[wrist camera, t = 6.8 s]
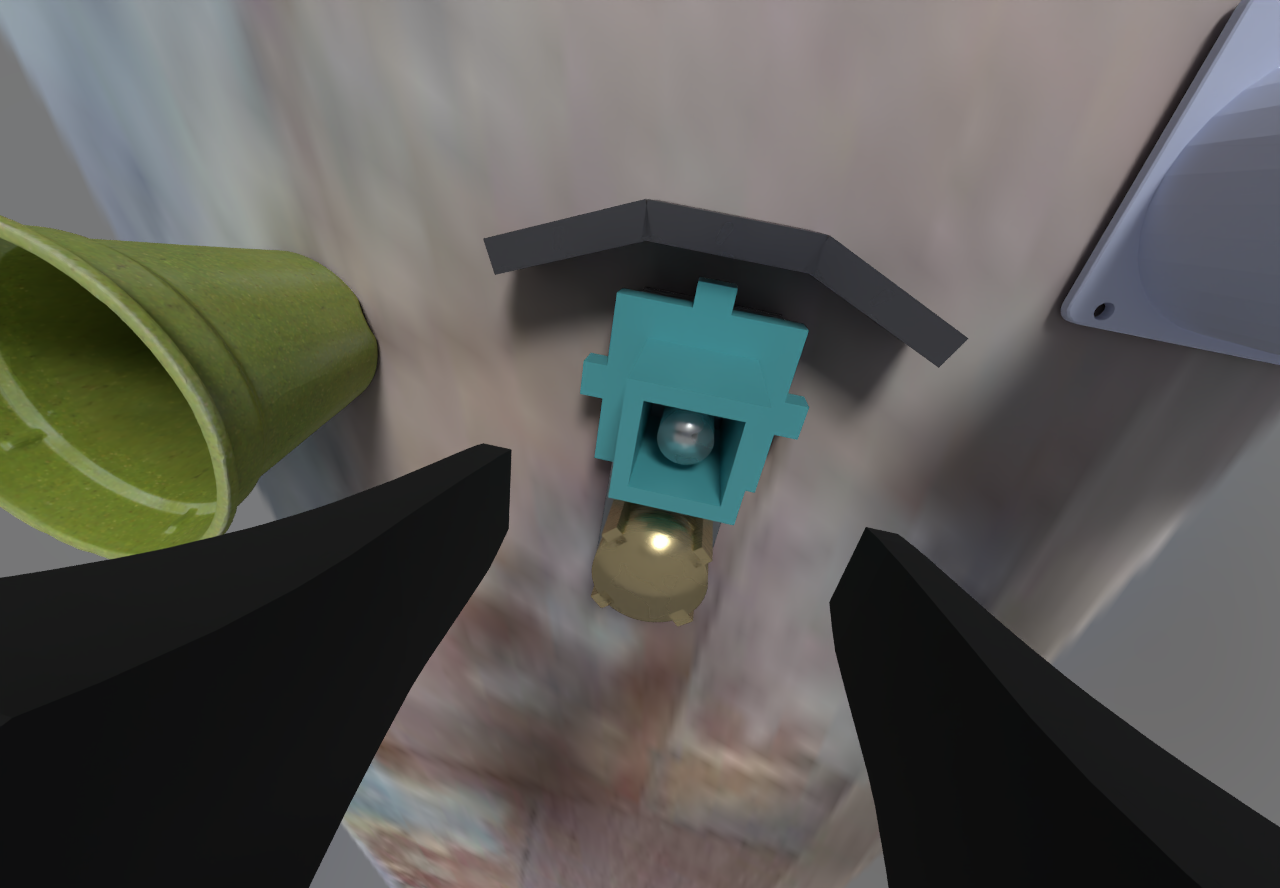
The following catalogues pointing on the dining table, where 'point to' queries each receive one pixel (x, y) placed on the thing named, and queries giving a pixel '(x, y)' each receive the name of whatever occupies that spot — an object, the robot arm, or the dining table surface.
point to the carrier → (664, 540)
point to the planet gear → (694, 396)
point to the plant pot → (161, 381)
